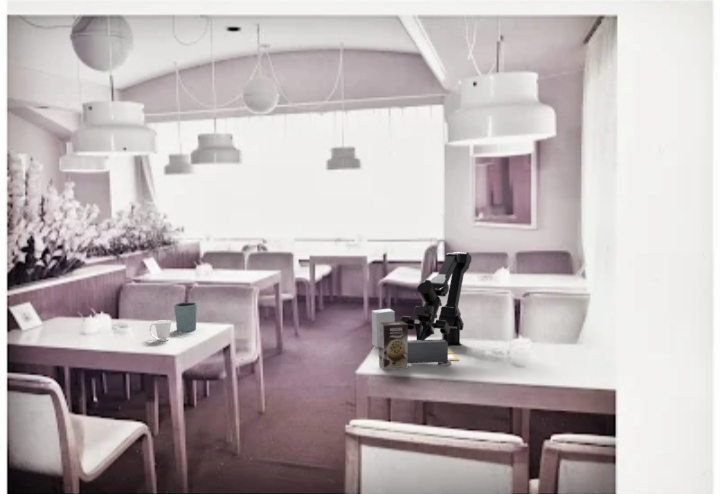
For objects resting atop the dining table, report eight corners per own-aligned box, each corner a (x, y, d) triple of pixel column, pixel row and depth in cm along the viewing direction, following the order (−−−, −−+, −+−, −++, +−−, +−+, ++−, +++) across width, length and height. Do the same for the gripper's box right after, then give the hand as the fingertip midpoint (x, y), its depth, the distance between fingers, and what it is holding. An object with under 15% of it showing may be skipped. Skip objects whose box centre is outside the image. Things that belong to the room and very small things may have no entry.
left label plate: (454, 354, 244) (454, 353, 244) (459, 360, 236) (459, 359, 236) (439, 355, 244) (439, 354, 243) (443, 360, 236) (443, 359, 236)
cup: (166, 342, 267) (165, 323, 267) (145, 341, 270) (144, 322, 269) (175, 338, 274) (174, 320, 274) (154, 337, 277) (154, 319, 276)
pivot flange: (449, 362, 234) (449, 360, 234) (452, 365, 229) (452, 364, 229) (436, 362, 234) (436, 360, 234) (438, 366, 229) (438, 364, 229)
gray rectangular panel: (446, 360, 232) (446, 339, 232) (447, 362, 230) (447, 340, 230) (404, 362, 231) (404, 340, 230) (405, 363, 229) (405, 341, 228)
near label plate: (448, 349, 253) (448, 347, 253) (452, 354, 245) (452, 353, 245) (433, 349, 252) (433, 348, 252) (437, 354, 244) (437, 353, 244)
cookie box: (384, 370, 224) (383, 325, 223) (378, 365, 230) (378, 321, 229) (408, 368, 226) (408, 323, 225) (402, 363, 233) (402, 320, 231)
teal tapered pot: (181, 333, 284) (180, 306, 283) (171, 329, 292) (170, 304, 291) (201, 329, 291) (200, 304, 290) (191, 326, 298) (190, 301, 297)
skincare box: (390, 343, 263) (389, 308, 262) (395, 346, 257) (395, 310, 256) (371, 345, 260) (371, 309, 259) (376, 348, 255) (376, 312, 253)
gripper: (401, 295, 242) (388, 329, 234) (446, 299, 232) (434, 335, 224) (411, 311, 250) (398, 345, 241) (455, 316, 240) (443, 351, 232)
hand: (418, 343), depth 235 cm, fingers closed
